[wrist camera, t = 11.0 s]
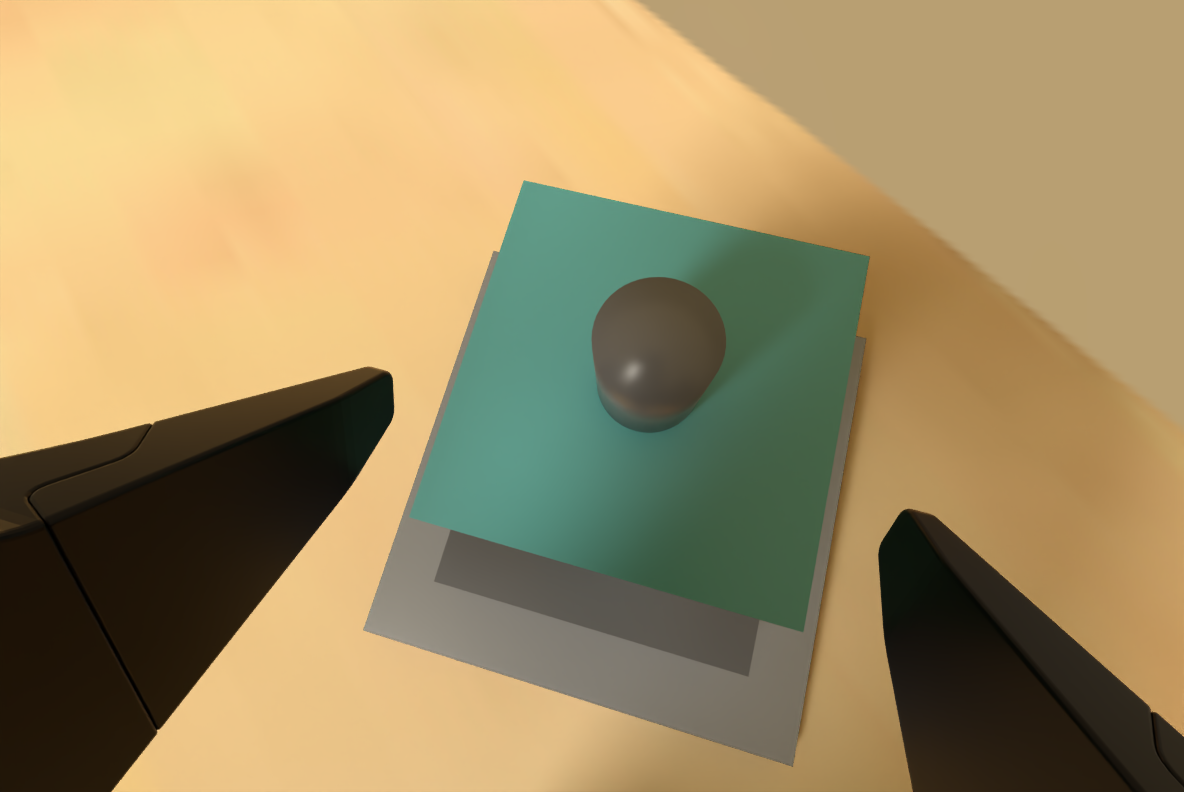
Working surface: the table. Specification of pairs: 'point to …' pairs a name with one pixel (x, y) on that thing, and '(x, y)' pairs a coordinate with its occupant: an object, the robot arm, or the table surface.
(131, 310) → the table surface
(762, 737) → the socket
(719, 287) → the plug
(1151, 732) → the robot arm
